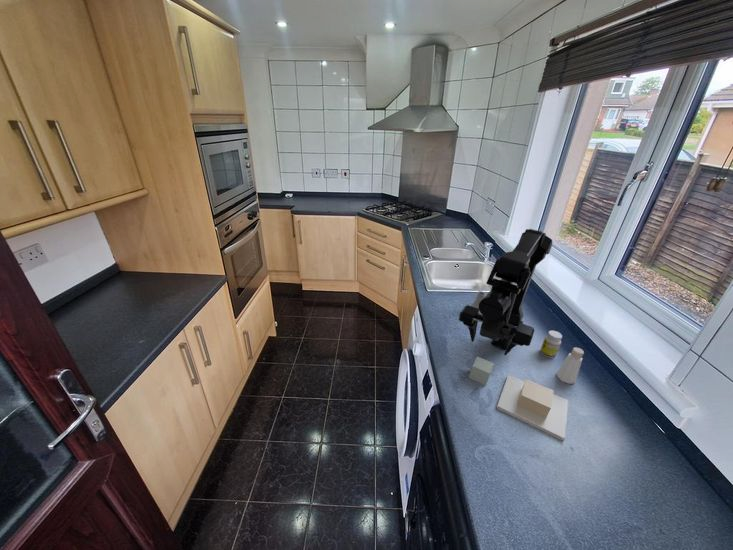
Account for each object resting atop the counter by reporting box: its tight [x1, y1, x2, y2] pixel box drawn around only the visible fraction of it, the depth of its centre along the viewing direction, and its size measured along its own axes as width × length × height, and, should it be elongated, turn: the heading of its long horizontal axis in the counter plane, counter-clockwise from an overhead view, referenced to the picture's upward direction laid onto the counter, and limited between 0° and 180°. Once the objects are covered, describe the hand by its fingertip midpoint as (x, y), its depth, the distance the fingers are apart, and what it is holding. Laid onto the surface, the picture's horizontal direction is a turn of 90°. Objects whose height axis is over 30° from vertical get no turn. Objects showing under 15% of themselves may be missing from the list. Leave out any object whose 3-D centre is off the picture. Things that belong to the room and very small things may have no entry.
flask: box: [470, 290, 487, 315], centre depth 120 cm, size 7×7×10 cm
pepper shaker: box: [555, 346, 585, 385], centre depth 90 cm, size 5×5×11 cm
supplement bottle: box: [540, 330, 563, 359], centre depth 101 cm, size 5×5×8 cm
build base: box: [496, 374, 569, 442], centre depth 82 cm, size 14×16×5 cm
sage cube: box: [469, 356, 494, 386], centre depth 91 cm, size 5×5×5 cm
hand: (488, 347), depth 86 cm, fingers open, 9 cm apart
